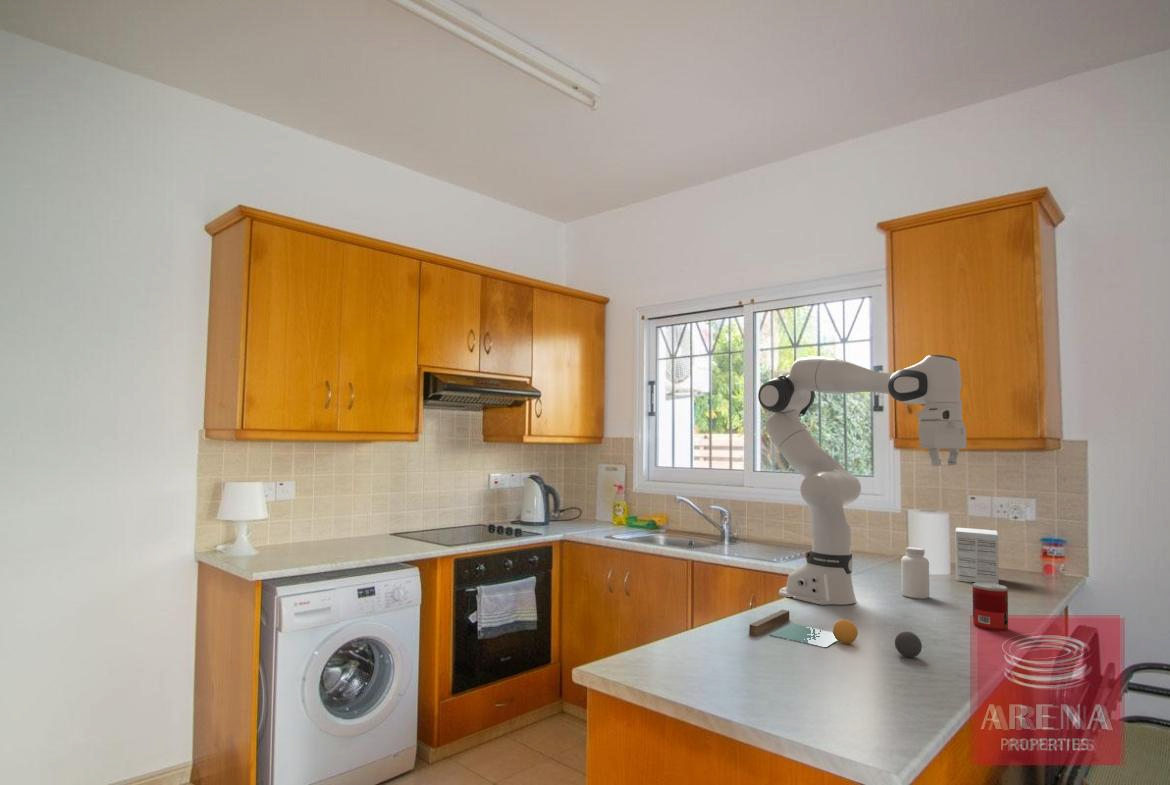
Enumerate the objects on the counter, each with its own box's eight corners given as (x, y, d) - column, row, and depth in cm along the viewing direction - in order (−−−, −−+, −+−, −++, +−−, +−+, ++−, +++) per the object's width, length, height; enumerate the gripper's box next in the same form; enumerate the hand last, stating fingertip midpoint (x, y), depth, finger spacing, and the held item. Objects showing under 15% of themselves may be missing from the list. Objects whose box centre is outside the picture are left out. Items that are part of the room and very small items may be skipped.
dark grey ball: (891, 656, 151) (891, 632, 151) (898, 651, 155) (898, 627, 155) (918, 662, 147) (918, 637, 148) (924, 656, 151) (924, 632, 152)
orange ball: (829, 643, 160) (829, 620, 160) (837, 638, 164) (837, 615, 164) (853, 648, 156) (853, 624, 156) (860, 643, 160) (860, 619, 161)
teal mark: (769, 635, 165) (769, 634, 165) (792, 624, 176) (792, 623, 176) (826, 648, 156) (826, 647, 156) (846, 635, 167) (846, 634, 167)
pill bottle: (927, 594, 213) (926, 547, 214) (931, 600, 206) (930, 551, 207) (899, 592, 216) (899, 545, 217) (903, 597, 208) (902, 549, 209)
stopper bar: (749, 634, 165) (749, 624, 165) (782, 618, 180) (782, 609, 181) (756, 636, 164) (756, 626, 164) (789, 620, 179) (789, 610, 179)
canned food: (1013, 632, 173) (1012, 589, 173) (979, 630, 174) (978, 587, 175) (1001, 624, 180) (1000, 583, 181) (968, 622, 182) (968, 581, 182)
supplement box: (956, 574, 247) (955, 526, 248) (998, 579, 241) (997, 530, 242) (955, 580, 236) (954, 530, 237) (999, 586, 229) (998, 534, 230)
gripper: (948, 415, 189) (949, 464, 188) (913, 413, 177) (914, 465, 176) (972, 415, 184) (973, 465, 184) (938, 412, 172) (939, 466, 171)
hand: (944, 465), depth 180 cm, fingers open, 8 cm apart
